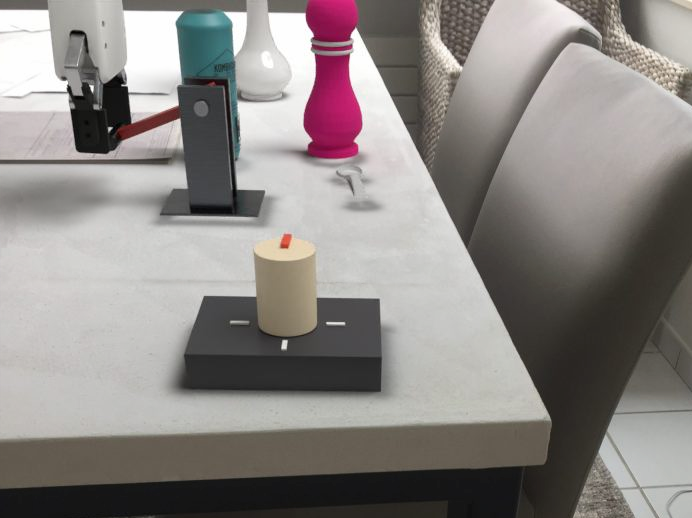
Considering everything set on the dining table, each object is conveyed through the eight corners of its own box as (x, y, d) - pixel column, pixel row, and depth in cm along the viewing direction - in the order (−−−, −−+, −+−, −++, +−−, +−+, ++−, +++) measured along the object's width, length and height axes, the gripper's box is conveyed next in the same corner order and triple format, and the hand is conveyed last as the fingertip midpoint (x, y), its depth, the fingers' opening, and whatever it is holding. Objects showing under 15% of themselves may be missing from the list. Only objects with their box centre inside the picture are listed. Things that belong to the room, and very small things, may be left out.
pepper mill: (361, 169, 108) (363, -22, 96) (302, 167, 108) (296, -24, 96) (362, 152, 114) (364, -30, 102) (306, 150, 114) (301, -32, 102)
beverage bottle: (178, 171, 106) (156, -25, 94) (204, 156, 111) (187, -31, 99) (228, 178, 104) (212, -20, 92) (252, 162, 109) (241, -27, 97)
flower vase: (324, 109, 131) (321, -97, 116) (198, 105, 131) (179, -102, 116) (329, 88, 141) (327, -103, 126) (213, 85, 141) (197, -107, 126)
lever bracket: (161, 224, 91) (143, 89, 84) (174, 199, 98) (159, 71, 90) (259, 226, 92) (251, 92, 84) (265, 201, 98) (258, 73, 90)
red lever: (109, 158, 89) (97, 134, 87) (120, 144, 93) (108, 121, 91) (220, 115, 87) (209, 89, 85) (226, 102, 91) (216, 78, 89)
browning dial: (314, 338, 65) (312, 257, 62) (254, 335, 65) (248, 255, 62) (319, 312, 69) (317, 234, 65) (262, 310, 69) (257, 232, 65)
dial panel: (188, 391, 65) (183, 352, 63) (207, 330, 73) (203, 293, 71) (380, 393, 65) (382, 354, 63) (378, 332, 73) (379, 296, 71)
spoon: (359, 175, 106) (360, 157, 105) (377, 216, 97) (377, 198, 96) (334, 175, 105) (334, 158, 104) (350, 217, 97) (350, 199, 95)
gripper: (64, -72, 86) (88, 116, 97) (7, -57, 73) (42, 161, 83) (142, -67, 87) (158, 120, 97) (100, -50, 73) (124, 166, 83)
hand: (105, 139), depth 90 cm, fingers open, 9 cm apart
